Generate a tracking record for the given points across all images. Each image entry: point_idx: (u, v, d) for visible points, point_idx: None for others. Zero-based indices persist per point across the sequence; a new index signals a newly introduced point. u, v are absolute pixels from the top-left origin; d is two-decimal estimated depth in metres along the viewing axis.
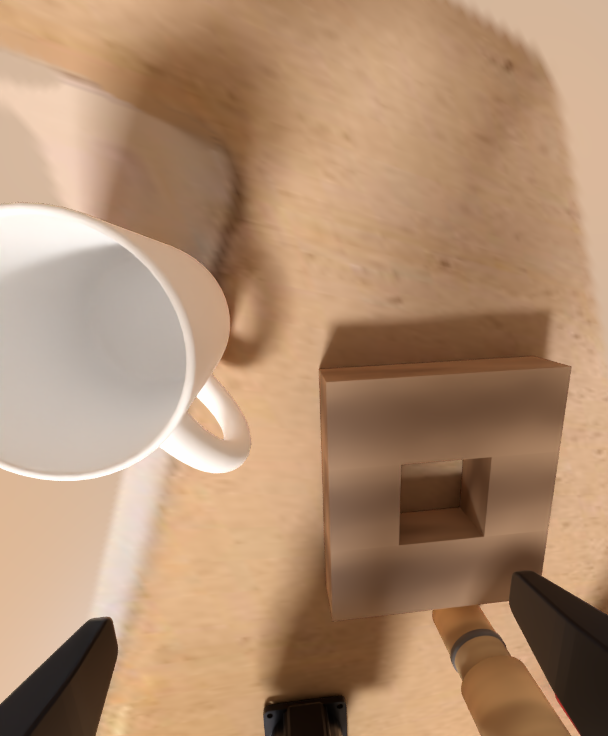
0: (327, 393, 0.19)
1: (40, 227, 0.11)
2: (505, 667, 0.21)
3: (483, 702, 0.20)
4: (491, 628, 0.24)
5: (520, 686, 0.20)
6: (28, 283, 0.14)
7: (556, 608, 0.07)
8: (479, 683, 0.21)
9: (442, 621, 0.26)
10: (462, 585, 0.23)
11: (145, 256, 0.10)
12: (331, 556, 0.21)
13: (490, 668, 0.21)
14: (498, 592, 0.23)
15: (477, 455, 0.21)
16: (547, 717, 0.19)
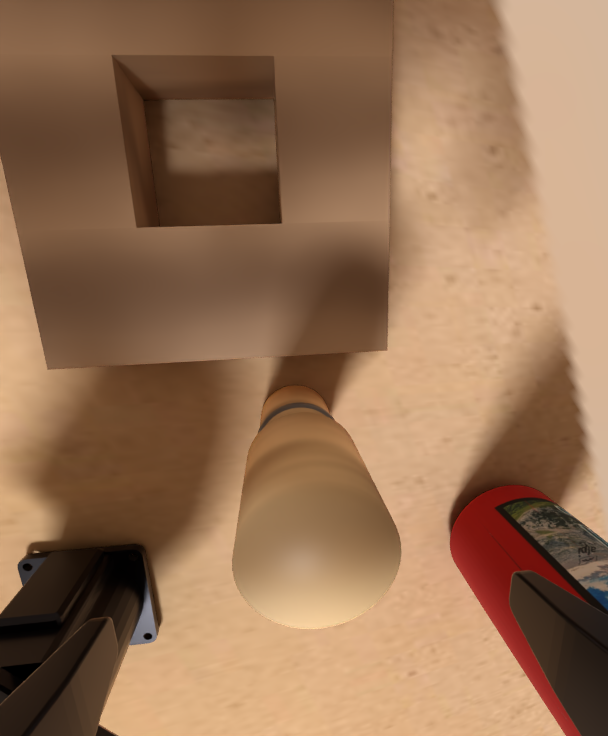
0: None
1: None
2: (303, 419, 0.13)
3: (251, 461, 0.12)
4: None
5: (311, 430, 0.12)
6: None
7: (556, 608, 0.07)
8: (257, 443, 0.13)
9: (262, 414, 0.17)
10: (259, 316, 0.14)
11: None
12: (21, 241, 0.13)
13: (280, 423, 0.13)
14: (319, 336, 0.15)
15: (247, 49, 0.12)
16: (333, 453, 0.10)
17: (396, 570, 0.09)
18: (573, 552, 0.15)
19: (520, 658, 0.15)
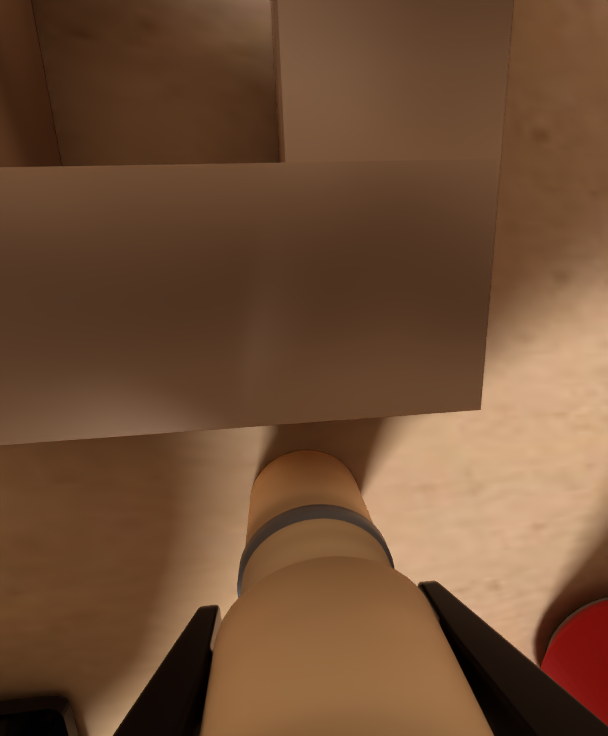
0: None
1: None
2: (334, 589, 0.06)
3: (212, 721, 0.05)
4: (357, 510, 0.09)
5: (361, 653, 0.05)
6: None
7: (445, 621, 0.07)
8: (232, 647, 0.06)
9: (251, 507, 0.10)
10: (239, 350, 0.07)
11: None
12: None
13: (282, 594, 0.06)
14: (356, 386, 0.08)
15: None
16: None
17: None
18: None
19: None
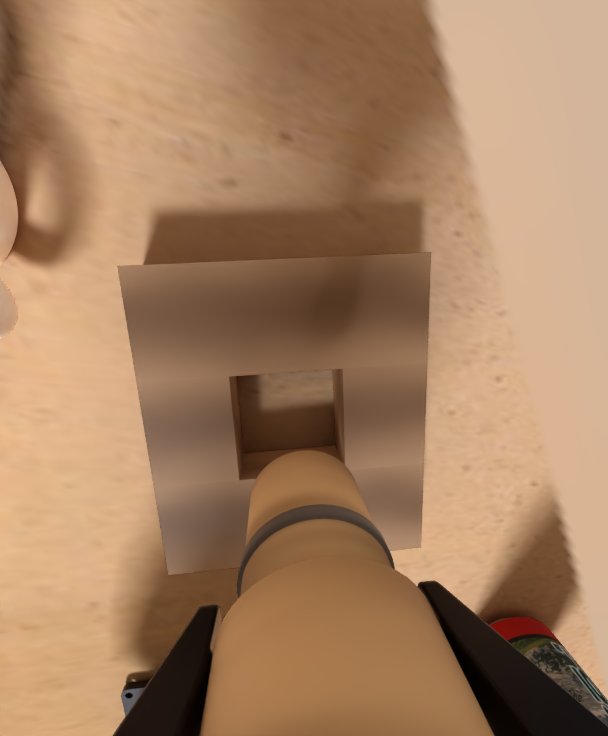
0: (120, 280, 0.15)
1: None
2: (334, 589, 0.06)
3: (211, 722, 0.05)
4: (357, 510, 0.09)
5: (362, 654, 0.05)
6: None
7: (445, 622, 0.07)
8: (232, 648, 0.06)
9: (251, 507, 0.10)
10: None
11: None
12: (156, 493, 0.18)
13: (282, 594, 0.06)
14: None
15: (324, 366, 0.17)
16: None
17: None
18: None
19: None
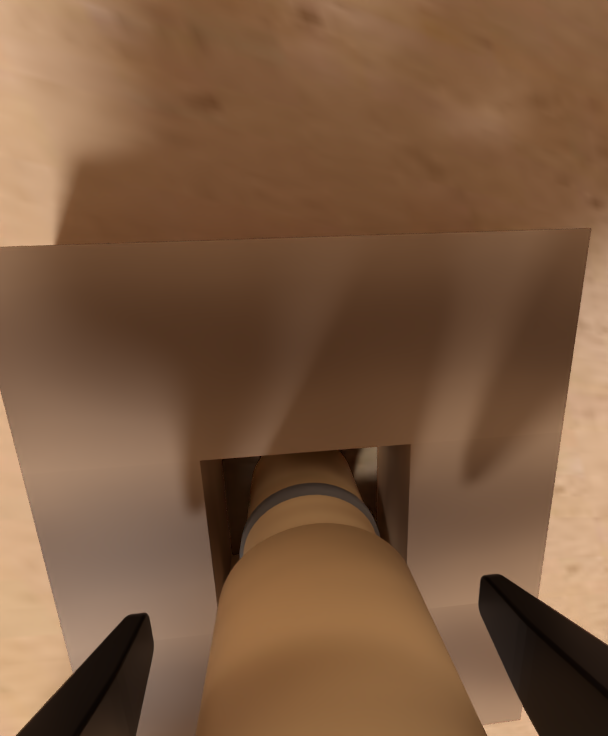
0: None
1: None
2: (322, 548, 0.07)
3: (217, 652, 0.06)
4: (348, 489, 0.10)
5: (342, 595, 0.06)
6: None
7: (519, 612, 0.07)
8: (234, 596, 0.07)
9: (252, 488, 0.11)
10: None
11: None
12: (72, 658, 0.10)
13: (278, 552, 0.07)
14: None
15: (378, 440, 0.09)
16: (404, 704, 0.04)
17: None
18: None
19: None
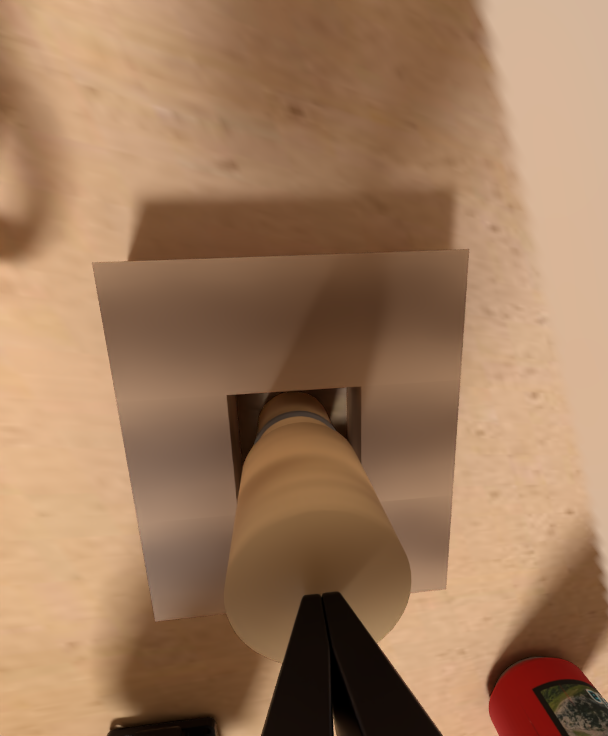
0: (96, 280, 0.13)
1: None
2: (302, 430, 0.12)
3: (246, 476, 0.11)
4: None
5: (311, 443, 0.11)
6: None
7: (331, 635, 0.06)
8: (253, 456, 0.12)
9: (259, 423, 0.16)
10: None
11: None
12: (140, 529, 0.15)
13: (277, 434, 0.12)
14: None
15: (339, 383, 0.14)
16: (335, 470, 0.09)
17: (406, 600, 0.09)
18: None
19: None
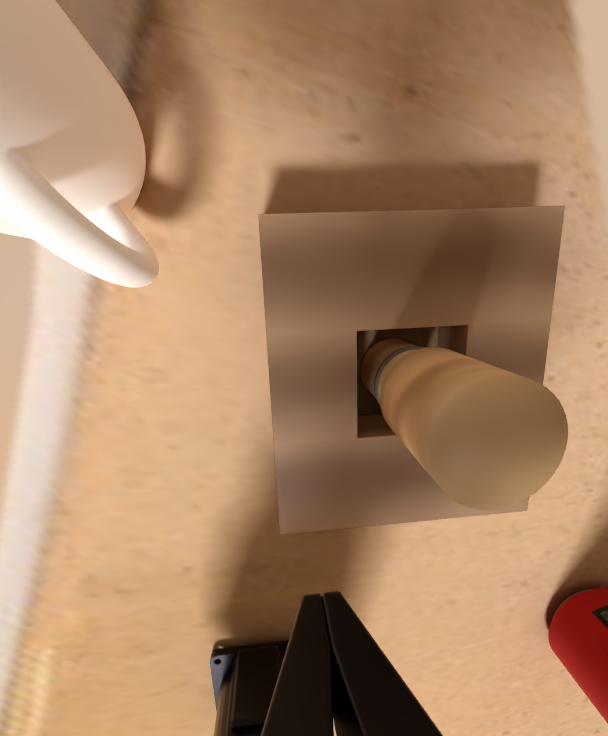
0: (260, 229, 0.15)
1: None
2: (439, 350, 0.14)
3: (402, 382, 0.14)
4: None
5: (457, 354, 0.13)
6: None
7: (331, 635, 0.06)
8: (400, 370, 0.14)
9: (369, 362, 0.19)
10: (436, 492, 0.19)
11: None
12: (275, 450, 0.18)
13: (417, 353, 0.14)
14: None
15: (450, 322, 0.17)
16: (492, 366, 0.12)
17: (560, 457, 0.11)
18: None
19: None
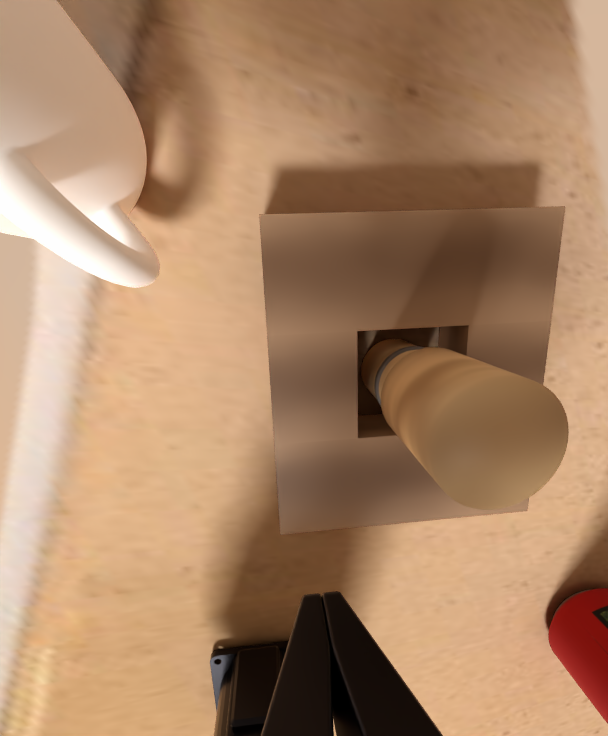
0: (261, 229, 0.15)
1: None
2: (440, 350, 0.14)
3: (403, 382, 0.14)
4: None
5: (457, 355, 0.13)
6: None
7: (331, 635, 0.06)
8: (401, 371, 0.14)
9: (370, 362, 0.19)
10: (436, 492, 0.19)
11: None
12: (275, 450, 0.18)
13: (418, 354, 0.15)
14: None
15: (451, 322, 0.17)
16: (493, 366, 0.12)
17: (560, 457, 0.11)
18: None
19: None
